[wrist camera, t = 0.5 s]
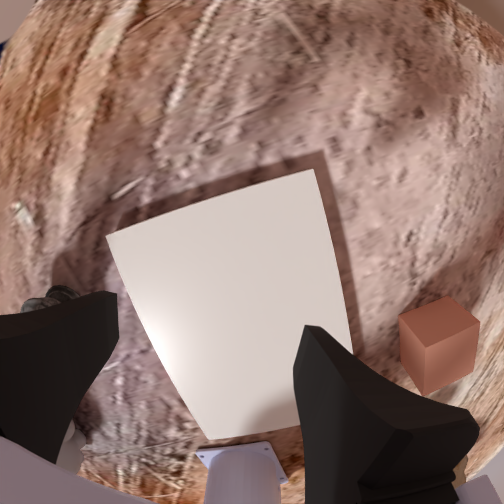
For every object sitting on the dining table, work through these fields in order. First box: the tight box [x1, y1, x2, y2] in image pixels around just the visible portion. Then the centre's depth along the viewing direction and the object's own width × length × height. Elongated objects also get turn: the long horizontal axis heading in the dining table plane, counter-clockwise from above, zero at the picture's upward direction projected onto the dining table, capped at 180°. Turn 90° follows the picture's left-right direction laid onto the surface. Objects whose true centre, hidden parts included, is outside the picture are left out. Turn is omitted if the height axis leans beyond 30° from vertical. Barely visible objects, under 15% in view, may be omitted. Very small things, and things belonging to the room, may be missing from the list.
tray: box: [106, 169, 353, 440], centre depth 21 cm, size 20×14×2 cm
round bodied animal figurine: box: [56, 419, 86, 474], centre depth 22 cm, size 7×12×8 cm, turn 154°
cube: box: [398, 295, 480, 396], centre depth 19 cm, size 5×5×5 cm
